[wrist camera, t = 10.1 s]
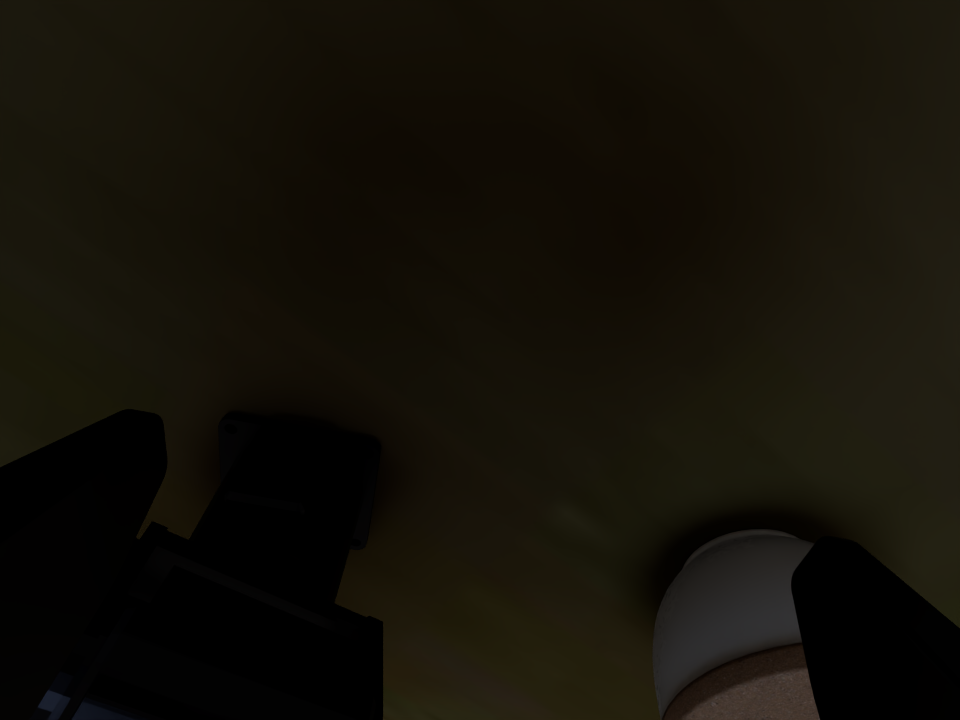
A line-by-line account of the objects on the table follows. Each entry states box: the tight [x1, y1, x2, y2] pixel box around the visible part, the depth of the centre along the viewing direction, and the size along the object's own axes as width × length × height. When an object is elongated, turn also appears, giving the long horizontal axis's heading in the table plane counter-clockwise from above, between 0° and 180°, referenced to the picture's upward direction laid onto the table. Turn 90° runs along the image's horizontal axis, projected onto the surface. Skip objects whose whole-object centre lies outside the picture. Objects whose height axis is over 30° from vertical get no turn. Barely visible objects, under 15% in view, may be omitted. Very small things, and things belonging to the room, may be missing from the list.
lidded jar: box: [653, 529, 820, 720], centre depth 24 cm, size 11×11×9 cm
